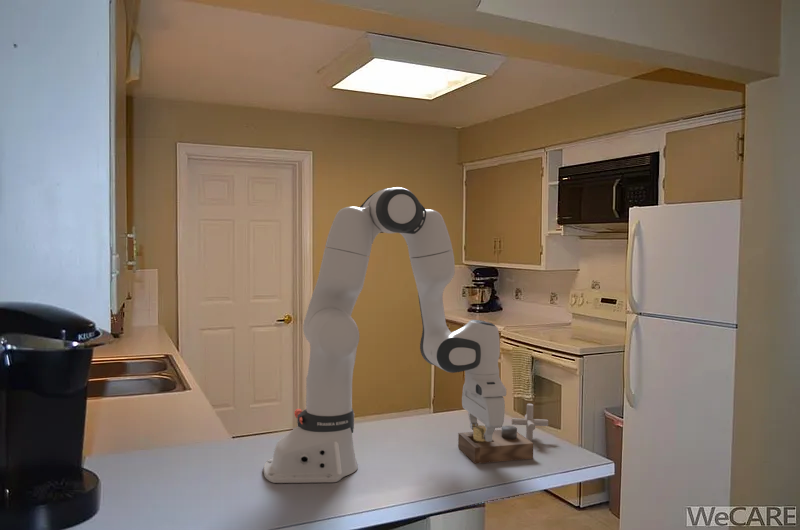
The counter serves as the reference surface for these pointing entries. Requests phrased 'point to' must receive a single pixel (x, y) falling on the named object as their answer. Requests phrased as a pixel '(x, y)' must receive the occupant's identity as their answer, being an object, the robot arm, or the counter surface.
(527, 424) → the pipe connector
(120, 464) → the counter surface
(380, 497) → the counter surface
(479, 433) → the tan cylinder
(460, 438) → the jig
